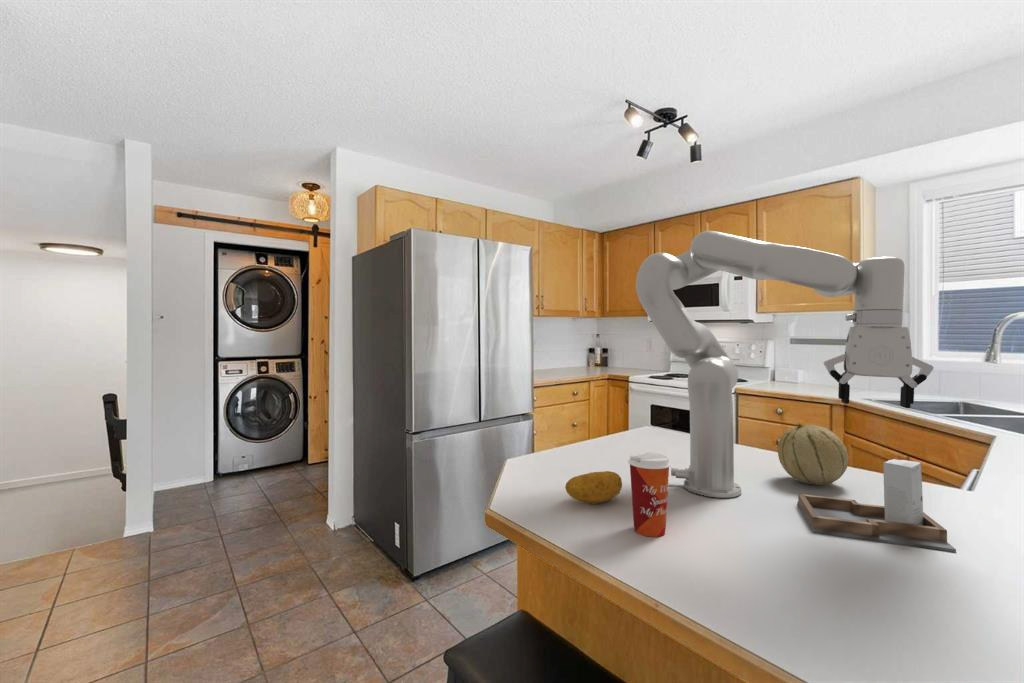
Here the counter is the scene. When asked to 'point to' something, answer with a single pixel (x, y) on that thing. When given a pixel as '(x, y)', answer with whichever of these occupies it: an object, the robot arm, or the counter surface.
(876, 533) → the angular wooden tray
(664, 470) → the paper cup
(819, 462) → the cantaloupe
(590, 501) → the potato
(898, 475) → the skincare box
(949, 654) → the counter surface
